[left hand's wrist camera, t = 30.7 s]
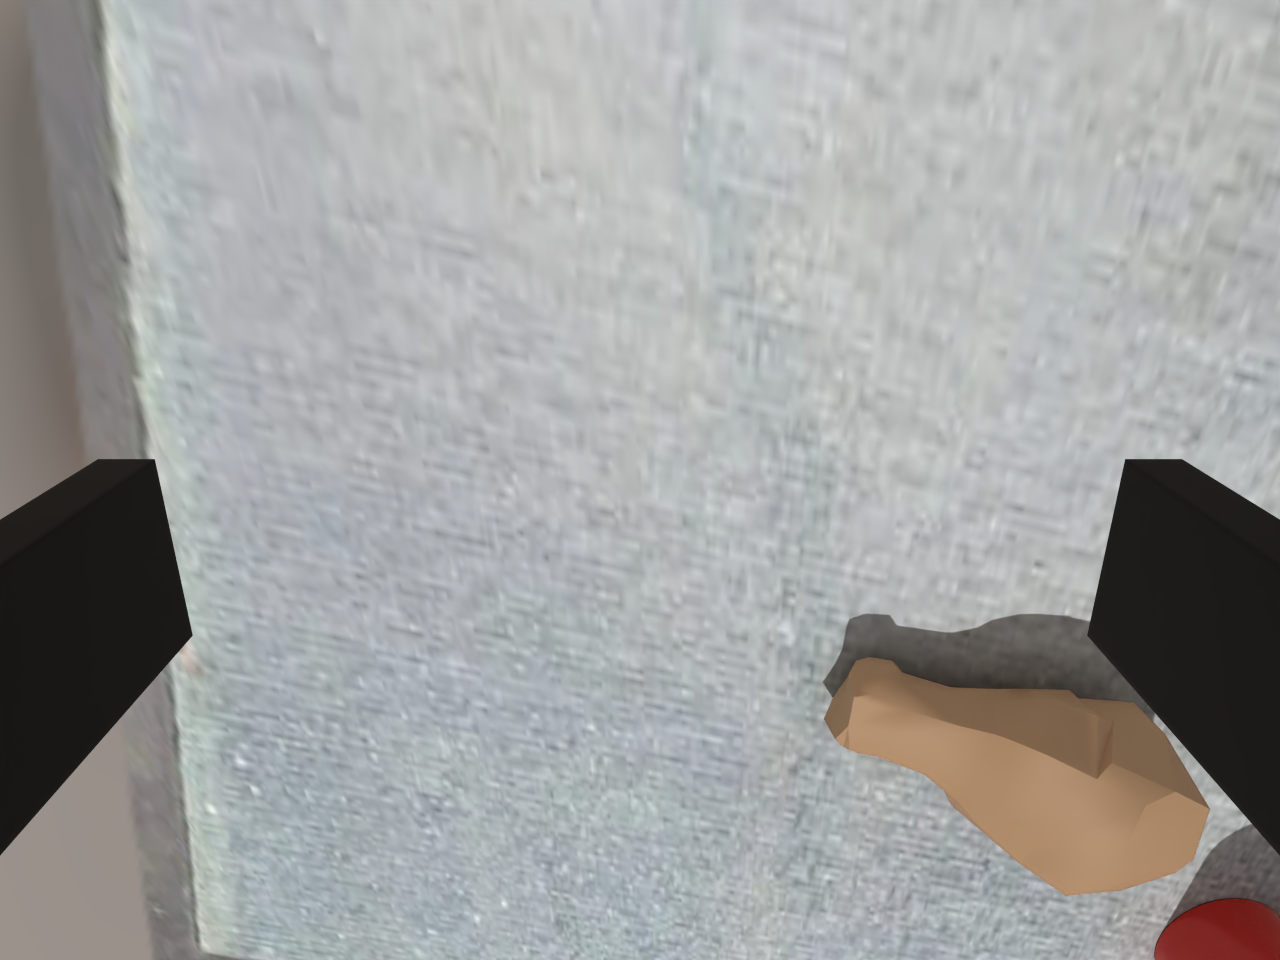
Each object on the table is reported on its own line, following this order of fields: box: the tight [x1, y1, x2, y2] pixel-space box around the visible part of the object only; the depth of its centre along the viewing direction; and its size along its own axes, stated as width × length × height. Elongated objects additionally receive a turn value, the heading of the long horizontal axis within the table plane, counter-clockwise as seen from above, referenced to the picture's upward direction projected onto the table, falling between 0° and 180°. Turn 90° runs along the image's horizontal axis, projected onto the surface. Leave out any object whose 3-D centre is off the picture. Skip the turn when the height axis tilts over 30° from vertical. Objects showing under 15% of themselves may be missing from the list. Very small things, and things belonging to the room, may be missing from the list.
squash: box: [824, 657, 1210, 896], centre depth 49 cm, size 11×20×9 cm, turn 74°
